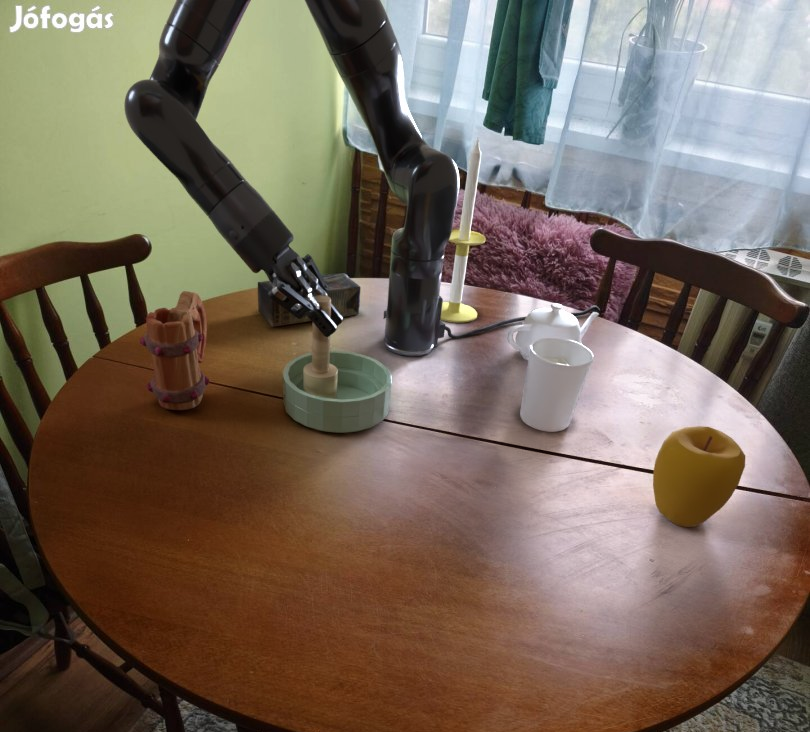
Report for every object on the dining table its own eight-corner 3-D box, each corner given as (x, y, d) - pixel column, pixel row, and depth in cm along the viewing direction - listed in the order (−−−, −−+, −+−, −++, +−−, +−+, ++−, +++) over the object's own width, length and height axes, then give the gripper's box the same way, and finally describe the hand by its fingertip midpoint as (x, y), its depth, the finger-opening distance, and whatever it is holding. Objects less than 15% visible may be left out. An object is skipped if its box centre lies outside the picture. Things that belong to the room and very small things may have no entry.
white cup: (538, 398, 119) (554, 331, 111) (586, 422, 114) (606, 354, 107) (503, 415, 114) (517, 347, 106) (551, 441, 109) (569, 372, 101)
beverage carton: (361, 315, 139) (362, 283, 135) (272, 329, 130) (270, 295, 126) (343, 300, 144) (344, 268, 140) (255, 313, 135) (254, 279, 131)
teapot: (570, 337, 140) (583, 287, 134) (608, 364, 132) (623, 313, 125) (485, 348, 133) (495, 296, 126) (520, 378, 124) (532, 324, 118)
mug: (192, 422, 104) (180, 326, 94) (141, 413, 104) (124, 317, 95) (230, 379, 115) (223, 289, 105) (184, 370, 115) (172, 280, 106)
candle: (482, 309, 147) (511, 136, 126) (469, 326, 140) (497, 145, 119) (438, 299, 149) (459, 127, 128) (423, 315, 142) (443, 135, 121)
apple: (644, 482, 102) (673, 405, 94) (719, 504, 100) (756, 427, 91) (633, 523, 94) (664, 444, 86) (714, 548, 92) (755, 468, 83)
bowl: (353, 375, 119) (355, 343, 116) (408, 420, 110) (412, 386, 106) (266, 396, 111) (264, 362, 107) (317, 447, 102) (317, 411, 98)
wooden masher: (326, 387, 111) (328, 289, 101) (342, 402, 108) (347, 302, 98) (297, 394, 109) (296, 294, 98) (313, 409, 106) (314, 308, 95)
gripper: (250, 224, 87) (341, 333, 93) (286, 196, 97) (365, 296, 104) (213, 260, 91) (303, 363, 97) (251, 230, 101) (330, 324, 108)
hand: (335, 328), depth 101 cm, fingers closed on wooden masher, 2 cm apart
